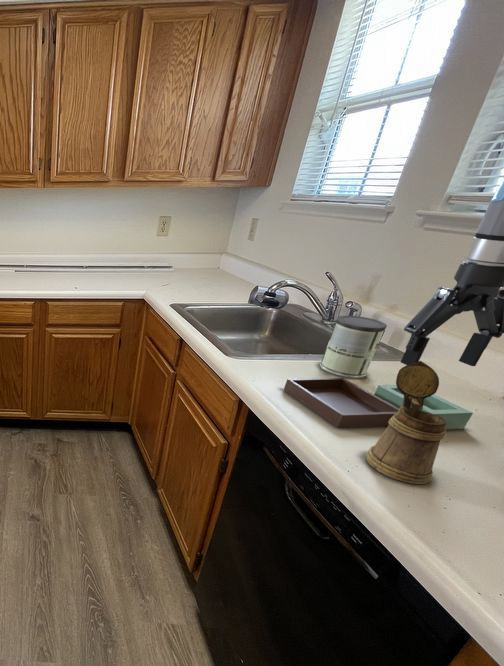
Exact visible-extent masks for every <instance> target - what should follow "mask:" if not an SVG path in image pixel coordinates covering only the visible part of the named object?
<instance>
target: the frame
mask: <svg viewBox="0 0 504 666" xmlns="http://www.w3.org/2000/svg"><path fill="white" fill-rule="evenodd" d="M373 394H374V395H375V396H377V397H379V398H381V399H383V400H384V401H386V402H388V403H390V404H392V405H394V406H395V407H397V408H399V409H400V407H401V405H402V403H403V399H404V395H403V394H402V393H401V392H400V391H399V389H398V388H397V385H396V384H378V385H377V387H376V389H375V392H374V393H373ZM421 411H425V412H429V413H432V414H435V415H438V416H440V417H442V418H443V419H445V421H446V422H447V423H446V426H445V429H446V430H464V429H465V428H466V426H467V424H468V422H469V421H470V419H471V417H472V416H473V414H474V412H473V411H471V410H469V409H466V408H464V407H462V406H460V405H458V404H457V403H456V404H455V403H454V402H451V401H449V400H448V399H445V398H443V397H441V396H439V395H437V394H436V393H435V394H433V395H432V396H430V397H427V398H425V399H424V402H423V409H422V410H421Z"/></svg>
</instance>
